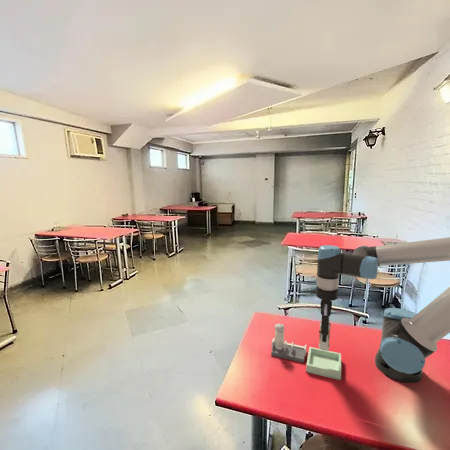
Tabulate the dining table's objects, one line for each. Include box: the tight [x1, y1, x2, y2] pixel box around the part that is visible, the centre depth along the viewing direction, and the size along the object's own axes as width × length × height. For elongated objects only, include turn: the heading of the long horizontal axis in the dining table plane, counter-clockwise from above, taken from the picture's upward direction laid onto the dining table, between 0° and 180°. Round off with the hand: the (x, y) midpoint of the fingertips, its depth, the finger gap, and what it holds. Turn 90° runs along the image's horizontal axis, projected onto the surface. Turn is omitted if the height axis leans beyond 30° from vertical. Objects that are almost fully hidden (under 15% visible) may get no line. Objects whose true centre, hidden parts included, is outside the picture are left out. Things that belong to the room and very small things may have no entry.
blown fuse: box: [318, 320, 332, 351], centre depth 102 cm, size 4×4×10 cm
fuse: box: [274, 323, 285, 351], centre depth 112 cm, size 4×4×10 cm
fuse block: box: [270, 337, 308, 364], centre depth 111 cm, size 14×8×4 cm, turn 67°
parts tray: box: [305, 346, 342, 381], centre depth 103 cm, size 12×12×3 cm
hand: (324, 344), depth 102 cm, fingers closed on blown fuse, 4 cm apart
